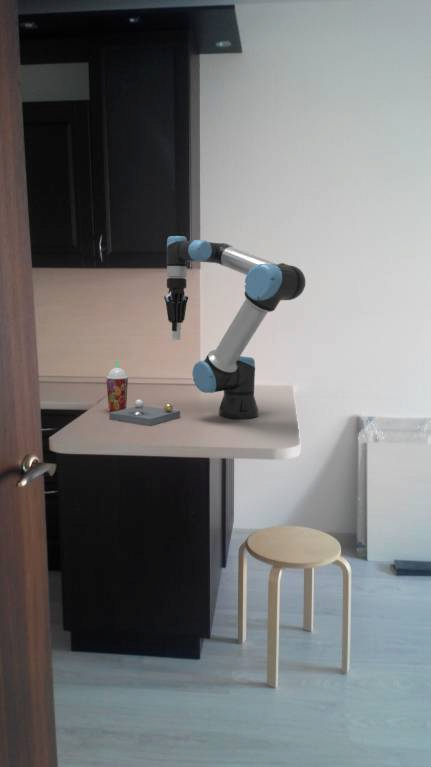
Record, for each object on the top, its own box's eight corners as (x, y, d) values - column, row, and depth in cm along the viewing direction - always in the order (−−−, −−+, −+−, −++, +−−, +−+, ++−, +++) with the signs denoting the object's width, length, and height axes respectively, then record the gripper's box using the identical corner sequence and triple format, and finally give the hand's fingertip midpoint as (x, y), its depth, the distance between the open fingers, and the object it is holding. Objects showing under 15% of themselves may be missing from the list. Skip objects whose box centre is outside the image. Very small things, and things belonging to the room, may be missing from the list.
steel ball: (140, 421, 215) (144, 414, 215) (135, 422, 213) (139, 415, 212) (134, 417, 217) (138, 409, 216) (129, 417, 214) (133, 410, 213)
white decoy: (144, 407, 226) (144, 399, 225) (139, 408, 223) (139, 400, 223) (138, 406, 228) (138, 398, 227) (133, 407, 225) (133, 399, 224)
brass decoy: (174, 411, 219) (174, 403, 218) (169, 413, 216) (169, 404, 215) (167, 410, 220) (167, 402, 220) (162, 412, 218) (162, 403, 217)
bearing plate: (180, 417, 221) (180, 411, 220) (150, 426, 205) (150, 419, 205) (140, 411, 230) (140, 405, 230) (109, 419, 215) (109, 412, 215)
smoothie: (131, 410, 233) (131, 360, 230) (122, 414, 225) (122, 362, 222) (112, 408, 235) (111, 359, 232) (102, 412, 227) (102, 361, 224)
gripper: (178, 278, 232) (178, 338, 236) (158, 277, 221) (158, 339, 225) (194, 278, 229) (193, 339, 232) (174, 277, 218) (174, 341, 221)
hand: (176, 339), depth 228 cm, fingers closed
